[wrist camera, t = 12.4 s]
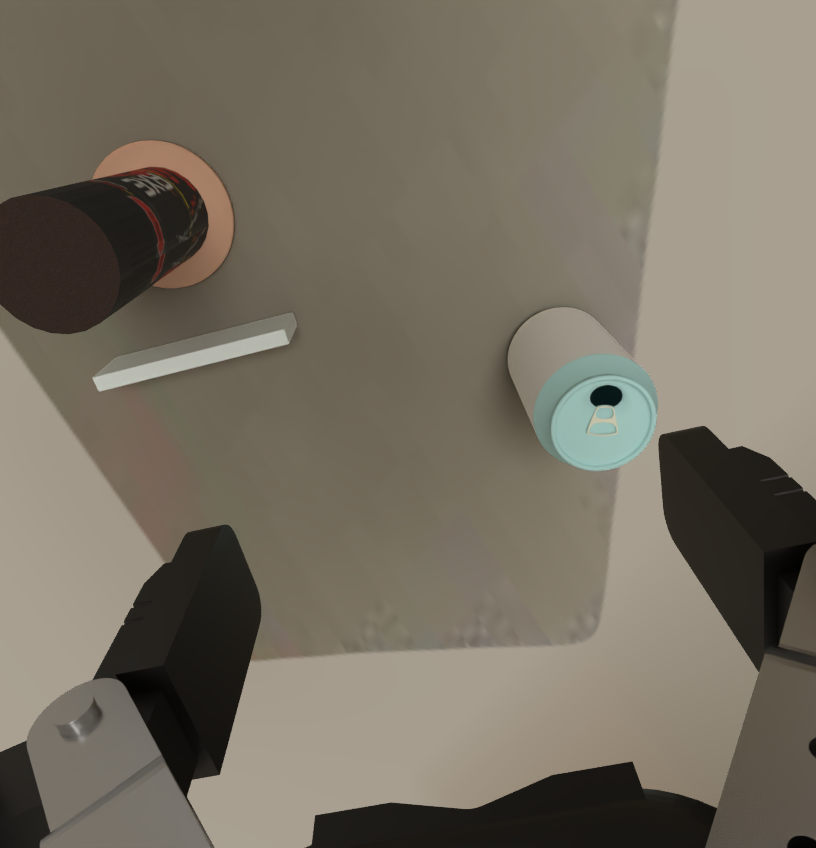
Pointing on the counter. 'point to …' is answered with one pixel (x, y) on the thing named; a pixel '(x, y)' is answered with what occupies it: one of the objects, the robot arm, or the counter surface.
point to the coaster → (207, 186)
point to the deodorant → (95, 245)
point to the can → (582, 390)
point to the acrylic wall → (197, 351)
